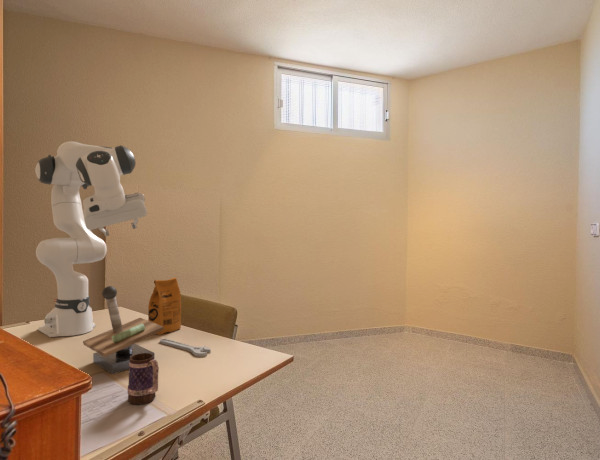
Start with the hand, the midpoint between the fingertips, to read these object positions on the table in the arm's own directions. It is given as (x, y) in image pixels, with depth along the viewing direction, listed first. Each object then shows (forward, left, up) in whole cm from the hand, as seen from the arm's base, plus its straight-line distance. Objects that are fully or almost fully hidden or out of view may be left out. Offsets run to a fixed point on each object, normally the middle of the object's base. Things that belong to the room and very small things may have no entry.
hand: (121, 231), depth 142 cm
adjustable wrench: (+18, +14, -44) cm, 49 cm away
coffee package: (-5, +25, -43) cm, 50 cm away
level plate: (+11, -7, -34) cm, 37 cm away
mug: (+39, -22, -43) cm, 63 cm away
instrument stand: (+11, -7, -43) cm, 45 cm away
